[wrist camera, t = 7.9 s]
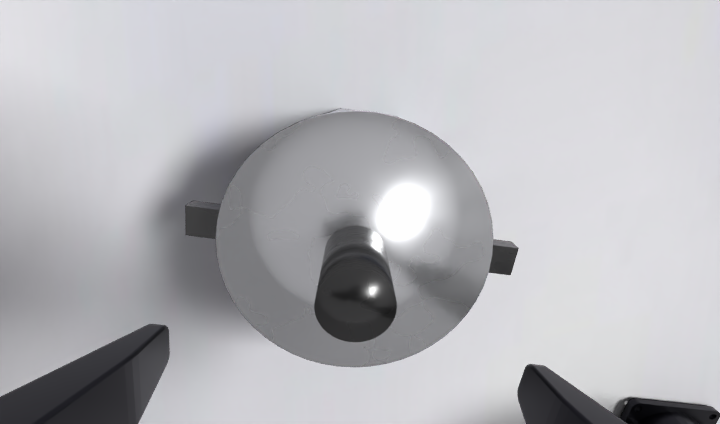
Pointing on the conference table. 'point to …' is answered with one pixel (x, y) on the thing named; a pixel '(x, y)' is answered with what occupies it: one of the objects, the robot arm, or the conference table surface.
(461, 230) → the lid
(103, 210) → the conference table surface
